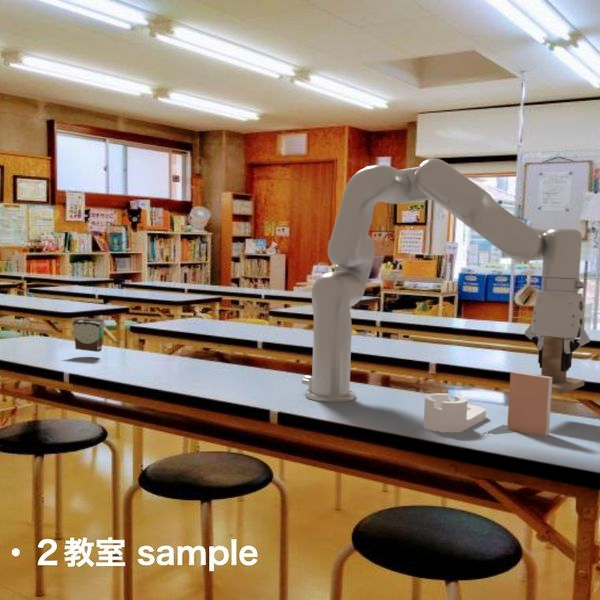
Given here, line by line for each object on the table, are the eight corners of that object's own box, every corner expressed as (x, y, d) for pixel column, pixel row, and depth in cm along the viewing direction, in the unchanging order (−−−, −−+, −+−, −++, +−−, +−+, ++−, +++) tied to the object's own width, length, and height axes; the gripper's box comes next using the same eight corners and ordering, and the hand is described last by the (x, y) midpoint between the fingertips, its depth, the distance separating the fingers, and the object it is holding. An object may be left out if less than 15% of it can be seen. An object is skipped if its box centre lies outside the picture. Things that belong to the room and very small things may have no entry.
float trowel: (521, 386, 147) (524, 335, 146) (544, 378, 156) (547, 330, 155) (562, 394, 141) (566, 341, 140) (584, 385, 151) (587, 335, 149)
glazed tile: (507, 428, 142) (510, 372, 141) (511, 427, 143) (514, 371, 142) (544, 437, 136) (548, 378, 135) (548, 435, 138) (552, 377, 137)
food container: (113, 349, 226) (113, 320, 226) (100, 352, 221) (101, 321, 220) (85, 346, 232) (85, 317, 231) (72, 348, 226) (72, 319, 225)
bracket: (456, 437, 136) (458, 405, 136) (416, 430, 141) (418, 398, 140) (489, 417, 153) (491, 388, 152) (452, 411, 158) (454, 383, 157)
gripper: (605, 288, 144) (599, 373, 146) (529, 282, 155) (524, 361, 157) (593, 289, 138) (587, 377, 140) (515, 283, 149) (510, 365, 151)
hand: (554, 368), depth 148 cm, fingers closed on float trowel, 4 cm apart
